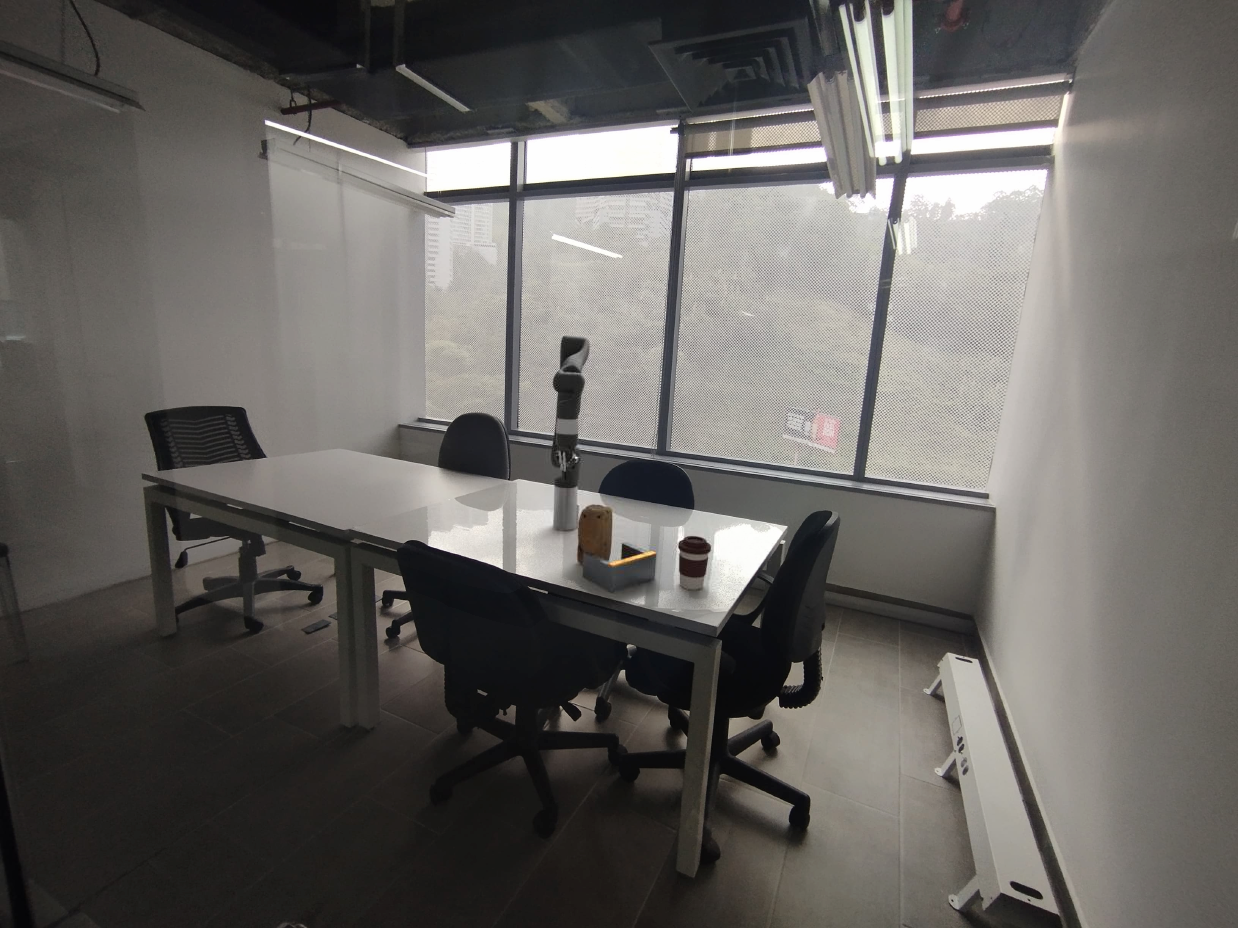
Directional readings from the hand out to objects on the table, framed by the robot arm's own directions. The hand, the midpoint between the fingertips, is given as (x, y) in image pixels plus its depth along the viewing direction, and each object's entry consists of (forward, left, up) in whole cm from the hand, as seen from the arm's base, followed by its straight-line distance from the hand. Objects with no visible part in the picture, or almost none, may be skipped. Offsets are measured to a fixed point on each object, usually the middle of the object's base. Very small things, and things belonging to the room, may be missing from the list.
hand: (565, 481), depth 184 cm
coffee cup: (-15, +47, -25) cm, 55 cm away
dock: (0, +29, -25) cm, 38 cm away
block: (0, +17, -25) cm, 30 cm away
